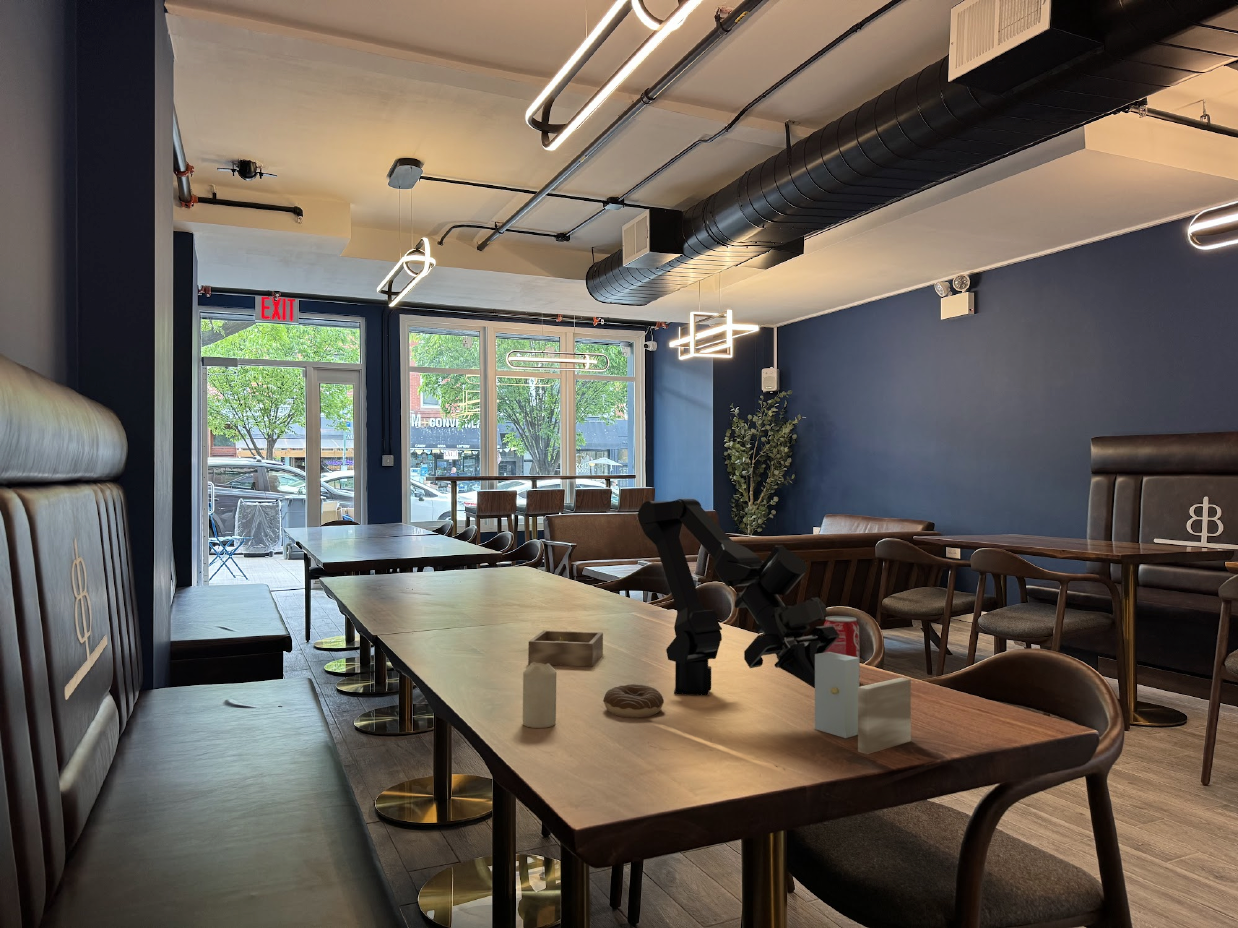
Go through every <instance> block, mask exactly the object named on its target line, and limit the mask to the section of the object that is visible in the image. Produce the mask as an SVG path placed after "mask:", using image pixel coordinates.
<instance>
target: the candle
mask: <svg viewBox="0 0 1238 928" xmlns="http://www.w3.org/2000/svg"><path fill="white" fill-rule="evenodd" d="M522 675H523V676H522V725H523V726H525V727H527V728H531V729H541V728H542V729H544V728H550V727H553V726H555V725H556V721H557V671H556V670H555V668H554V667H553V665H550V664H542V663H536V662H532V663H531V664H528V666H527V667H526V668H525V669H524V670H523V673H522Z"/></svg>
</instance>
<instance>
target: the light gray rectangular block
mask: <svg viewBox="0 0 1238 928" xmlns="http://www.w3.org/2000/svg"><path fill="white" fill-rule="evenodd" d="M859 660H860V657H859V658H857V657H852V656H847V655H842V654H837V653H832V652H825V653H819V654H815V688H814V729H815V730H817V731H820V732H824V733H827V734H831V735H834V736H837V737H840V738H844V739H847V738H852V737H855V736H858V687H860V679H859Z"/></svg>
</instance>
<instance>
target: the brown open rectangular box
mask: <svg viewBox="0 0 1238 928" xmlns="http://www.w3.org/2000/svg"><path fill="white" fill-rule="evenodd" d="M560 638H562V639H563V640H564V642H555V641H559V640H560ZM566 641H568V642H566ZM603 646H604V632H598V631H597V632H596V631H571V630H569V631H567V630H542V631H541V632H540V633H538V634H537V635H535V636H534V637H533V638H531V639H530V640H528V648H527V649H528V653H527V655H528V656H527V657H528V658H527V659H528V662H527V664H528V665H530V664H531V663H532V662H536V663H542V664H550V665H551V666H568V667H569V666H571V667H591V668H592V667H593V666H594V665H596V663H597V662H598V660H600V658H601V657H602V656H603V654H604V647H603Z"/></svg>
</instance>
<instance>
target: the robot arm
mask: <svg viewBox="0 0 1238 928" xmlns="http://www.w3.org/2000/svg"><path fill="white" fill-rule="evenodd" d="M701 504H702V503H700V501H699V500H697V499H694V498H678V499H675V500H672V501H670V500H663V501H661V500H646V501H644V502H643V503H642V504H641V506H640V508H639V509H638V512H637V519H638V520H637V521H638V522H639V524H640V528H641V530H642V531H643V534H644V535H645V537H647V538H648V540H650V541H651V542H652V544H654V546H655V547H656V549H657V552H658V556H659V558H660V563H661V565H662V568H663V572H664V574H665V578H666V580H667V584H668V588H669V591H670V593H671V597H672V600H673V603H674V606H675V610H676V617H675V622H674V626H673V628H674V633H675V634H674V635H675V637H674V639H673V640H672V641H671V643H669V645H668V646H667V647H666V649H665V652H666V657H667V660H668V661H671V662H675V666H674V667H675V672H674V673H675V675H674V679H675V683H674V685H675V686H674V691H673V694H675V695H686V696H709V693H710V692H711V690H712V666H710V665H709V660H715V659H716V658H717V656H718V652H719V649H720V646H721V645H720V644H721V642H722V640H723V636H722V632H721V631H722V630H723V628H722V626H721V625H720V623H719V619H718V616H717V615H718V614H717V612H716V611H715V609H706V608H705V607H704V606H703V605H702V602H701V598H700V595H699V592H698V589H697V587H696V584H695V581H694V578H693V575H692V572H691V569H690V566H689V563H688V560H687V557H686V552H685V550H684V548H683V545H682V542H681V537H680V536H681V534H682V533H681V532H682V529H683V525H684V527H685V528H686V529H687V530H688V531H689V532H690V534H691V535H692V536H693V537H694V538H695V539H696V540H697V542H698V543H699V544H700V545H701V546H702V547H703V549H704V550H705V551H706V552H707V554H709V555H710V557H711V558H712V559H713V568H714V570H715V572H716V574H717V575H718V577H719V579H720V580H721V581H722V582H723V584H724V585H725V586H726V587H729V588H730V587H731V588H732V587H734V588H735V587H742V586H743V587H745V586H746V587H745V588H744V589H743V591H741V592H736V598H735V601H734V608H736V609H740V608H747V609H748V611H749V612H750V614H751V615H752V617H753V619H754V621H755V622H756V623H757V625H756V626H755V627H754V629H755V632H756V633H757V634H758V635H757V636H756V637H755V638H754V639H753V641H752V642H751V643H750V644H748V647H747V648H746V649H745V650H744V651H743V659H744V661H745V663H746V664H747V666H748V667H749V669H754V668H759V667H762V665H763V664H764V658H763V656H769V655H776V659H777V661H776V662H775V664H774V667H775V668H777V669H778V668H779V669H781V670H782V671H784V672H786V673H788V674H790V675H791V676H794V677H795V678H797V679H799V680H800V681H801V682H804V683H805V684H807V685H809V686H810V687H811V688H813V689H815V654H819V653H824V652H825V651H826V650H827V649H828V648H829V647H830V646H831V645H832V644H833V643H834V642H835V641H836V640H837V639H838V637H839V634H838V632H837V631H836V630H835V628H834V627H833V626H828V625H826V626H824V625H821V626H814V628H813V629H812V630H811V631H809V629H811V627H810V626H809V625H810V624H813V623H815V622H818V621H823V620H824V619H825V617H824V616H825V615H826V614H827V605H825V604H824V602H823V601H822V600H821V599H820V598H819V597H818V596H817V597H811V598H810V599H808V600H806V601H803V602H799V603H797V604H794V605H785V603H784V601H782V599H781V598H780V596H786V595H788V594H789V593H790V591H791V590H792V589H794V587H795V585H796V584H797V583H798V582H799V581H800V580H801V578H802V577H803V576H804V575H805V574H806V573H807V564H806V562H805V561H804V559H803V558H801V557H799V556H798V555H797V554H796V553H794V552H792V551H791V550H788V549H786V547H785V546H784V545H775V546H774V547H773V548H772V550H771V551H770V552H769V555H768V556H767V557H766V559H764V561H763V560H762V559H761V558H760V556H759V555H758V554H756V553H755V552H754V551H752V550H750V549H749V548H748V547H745V546H743V545H741V544H739V543H736V541H734V540H733V539H732V538H730V537H729V535H728V534H727V533H726V532H725V531H724V530H723V529H722V528H721V527H720V526H719V524H718V523H716V521H715V520H714V519H713V518H712V517H711V516H710V515H709V514H708V513H707V512H706V510H705V509H704V508H703V507H702V505H701ZM779 595H780V596H779ZM808 631H809V633H808V634H807V635H806V636H805V635H804V633H807V632H808ZM759 633H760V634H759ZM762 633H763V634H762Z"/></svg>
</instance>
